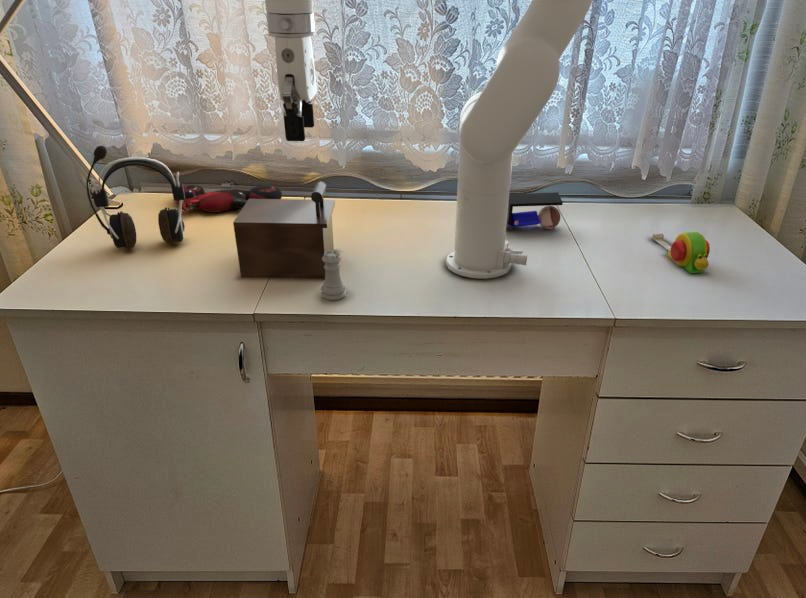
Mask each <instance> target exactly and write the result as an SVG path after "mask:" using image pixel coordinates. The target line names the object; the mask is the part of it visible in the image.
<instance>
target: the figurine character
mask: <svg viewBox="0 0 806 598" xmlns="http://www.w3.org/2000/svg"><path fill="white" fill-rule="evenodd" d="M543 206H544V207H543ZM555 206H563V200H562V198H561V196H560V194H559V192H529V193H527V192H526V193H524V192H523V193H509V203H508V215H507V226H506V230H511V229H512V230H513V229H514V228H518V227H519V228H520V227H529V226H538V225H540V226H541V227H542V228H544V229H547V230H550V229H551V230H552V229H554V228H556V227H557V226H558V225H559V223H560V221H561V212H560V210H559V209H558V208H557V207H555ZM514 207H515V208H516V207H517V208H518V207H542V208H541V209H540V210H539V212H538V211H537V210H530V211H529V210H528V211H519V212H513V209H514Z"/></svg>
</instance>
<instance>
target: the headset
mask: <svg viewBox="0 0 806 598" xmlns="http://www.w3.org/2000/svg"><path fill="white" fill-rule="evenodd" d="M107 153H108V149H107V148H106V147H105V145H98V146H96V148H95V149H94V151H93V161H92V164H91V166H90V169H89V171H88V174H87V177H86V182H85V185H86V195H87V199H88V202H89V205H90V207H91V209H92V211H93V213H94V215H95V217H96V219H97V221H98V223H99V224H100V226H101V227H102V228H103V229H104V230H105V231H106V234H107V235H108V236H110V238H111V239H112V242H113V244H114V246H115V247H116V248H117V249H124V248H125V249H126V250H128V251H129V250H131V249H132V248H135V246H136V244H137V229H136V226H135V222H134V220H133V217H132V216H131V215H130V214H129V213H128V212H124V211H122V210H121V211H118V212H117V213H116V214H110V213H108V212H107V210H106V209H105V208H108V207H109V205H110V204H109V199H108V195H107V191H106V189H105V185H106V182H107V181H108V179H109V177H110V176H111V175H113V173H115V172H116V171H118V170H120V169H122V168H126V167H132V166H137V167H146V168H149V169H151V170H154V171H156V172H158V173H159V174H160V175H161V176H163V177H164V178H165V179H166V181H168V182H169V185H170V188H171V193H172V199H173V201H174V202H176V201H179V207H178V208H170V207H166V206H165V207H164V209H160V210H159V212H158V214H157V222H158V228H159V232H160V236H161V239H162V240H163V242H165V243H166V244H168V245H169V244H170V245H171V246H174V243H181V242H183V241H184V232H185V229H186V228H185V227H186V226H185V223H184V221H183V218H182V211H183V210H182V200H185V193H184V188H183V184H182V183H180V179H179V177H180V172H179V171H177V172H176V174H175V175H176V176H175V177H176V179H175V177H174V174H173V172H172V171H171V169H170V168H169V167H168V166H167V165H166V163H164V162H162V161H160V160H157V159H154V158H149V157H144V156H132V157H131V156H130V157H123V158H119V159H116V160H113V161H110V162H108V163H107V164H106V165H104V166H103V167H102V169H101V170H100V173H99V176H98V181H97V182H98V183H97V182H96V181H95V179H94V178H92V177H91V174H92V172H93V169H94V167H95V165H96V164H97V163H98V162H99V161H100V160H104V159H105V158H106V156H107ZM110 166H111V167H110ZM109 167H110V168H109ZM106 169H108V170H107V171H106V173H105V174H104V177H103V180H102V183H101V177H102V174H103V173H104V172H105V170H106ZM90 177H91V178H90ZM90 182H91V183H92V185H93V188H94V190H93V192H92V198H91V195H90V188H89V183H90ZM97 184H98V185H97ZM92 199H93V202H92ZM93 204H94V205H93ZM94 206H95V207H96V208H99V209H100V212H101V213H102V215H103V218H104V221H105V222H106V224H105V223H104V221H103V220H102V218H100V216H99V213H98V212H97V210H96V209H95V207H94ZM107 216H108V218H107ZM106 225H107V226H108V227H107V226H106Z"/></svg>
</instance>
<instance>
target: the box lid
mask: <svg viewBox="0 0 806 598" xmlns="http://www.w3.org/2000/svg"><path fill="white" fill-rule="evenodd" d="M326 191H327V184H326V183H325V182H324V181H317V182H316V183H315V186H314V188H313V190H312V193H311V195H310V199H297V198H296V199H292V198H290V199H289V198H287V199H286V198H281V199H248V201H247V202H246V204H245V205H244V207H243V208H241V209H240V211H239V213H238V215H236V217H235V219H234V220H233V223H232V224H233V225H232V226H233V228H234V227H295V228H327V227H328V224H329V221H330V218H331V215H332V214H333V212H334V208H335V206H336V200H335V199H324V197H325V194H326ZM332 216H333V215H332Z"/></svg>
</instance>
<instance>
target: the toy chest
mask: <svg viewBox="0 0 806 598" xmlns="http://www.w3.org/2000/svg"><path fill="white" fill-rule="evenodd" d="M332 216H333V215H331V218H330V221H329V224H328V227H327V228H295V227H234V226H233V232H234V238H235V246H236V253H237V259H238V266H239V270H240V271H239V273H240V278H243V279H244V278H246V279H247V278H248V279H249V278H250V279H311V280H313V279H315V280H317V279H318V280H319V279H320V280H325V268H324V266H325V263H324V261H323V260H322V258H323V256H324V252H327V253H328V251H330V250H331V253H333V251H335V247H334V246H335V245H334V231H333V217H332Z"/></svg>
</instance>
